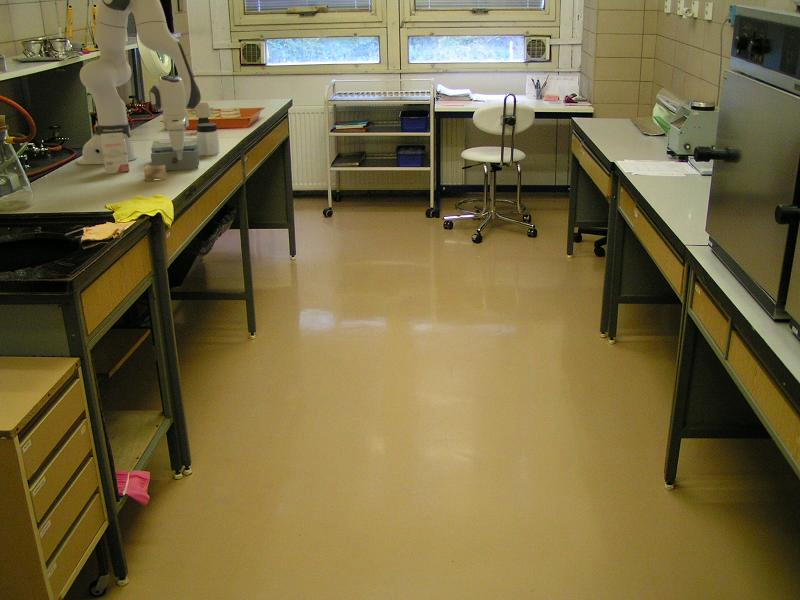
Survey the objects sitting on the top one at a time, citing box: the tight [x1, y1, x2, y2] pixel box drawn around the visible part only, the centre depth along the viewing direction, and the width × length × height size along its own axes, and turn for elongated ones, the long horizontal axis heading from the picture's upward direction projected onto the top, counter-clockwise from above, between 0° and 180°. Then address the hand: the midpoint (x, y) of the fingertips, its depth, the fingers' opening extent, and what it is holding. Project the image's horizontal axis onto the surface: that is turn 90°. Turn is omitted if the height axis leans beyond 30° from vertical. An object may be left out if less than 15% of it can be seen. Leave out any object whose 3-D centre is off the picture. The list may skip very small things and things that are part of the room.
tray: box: [150, 149, 199, 172], centre depth 326 cm, size 17×17×7 cm
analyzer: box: [150, 138, 200, 166], centre depth 334 cm, size 17×16×8 cm
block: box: [143, 165, 167, 181], centre depth 307 cm, size 7×7×4 cm
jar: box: [195, 122, 221, 157], centre depth 349 cm, size 9×8×12 cm
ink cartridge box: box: [100, 132, 130, 174], centre depth 319 cm, size 9×5×15 cm, turn 105°
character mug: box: [190, 102, 215, 124], centre depth 404 cm, size 11×7×13 cm, turn 92°
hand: (180, 159), depth 317 cm, fingers closed
